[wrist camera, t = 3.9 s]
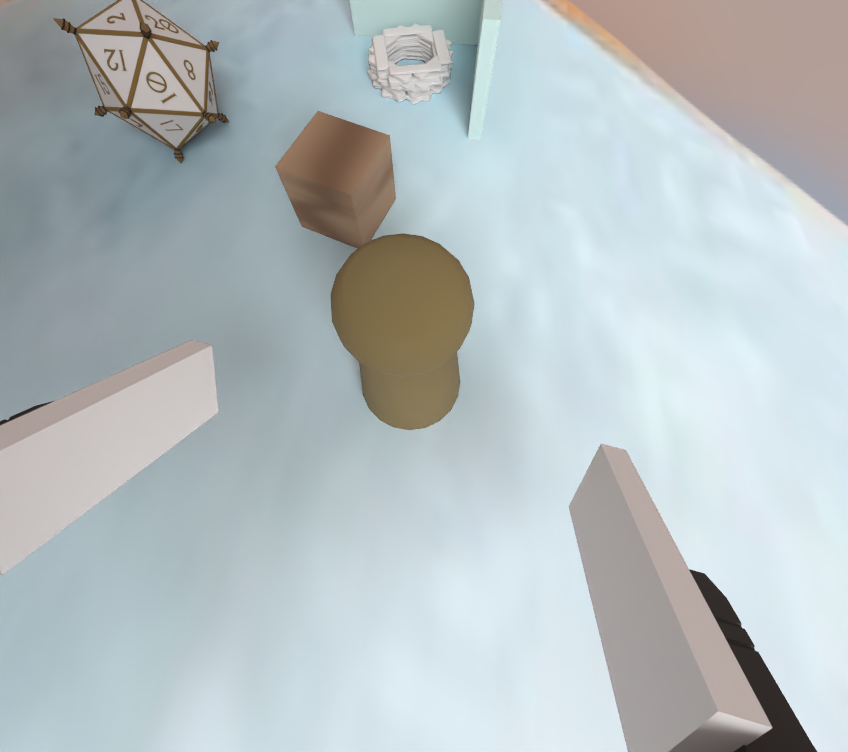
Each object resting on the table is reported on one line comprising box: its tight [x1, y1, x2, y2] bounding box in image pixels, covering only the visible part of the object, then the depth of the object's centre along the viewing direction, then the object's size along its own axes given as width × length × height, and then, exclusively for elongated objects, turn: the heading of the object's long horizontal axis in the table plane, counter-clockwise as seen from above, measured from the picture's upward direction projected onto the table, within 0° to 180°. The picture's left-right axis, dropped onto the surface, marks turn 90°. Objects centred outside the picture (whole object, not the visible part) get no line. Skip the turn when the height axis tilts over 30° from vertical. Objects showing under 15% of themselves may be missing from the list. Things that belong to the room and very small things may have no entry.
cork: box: [331, 234, 474, 430], centre depth 17 cm, size 6×6×11 cm
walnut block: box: [275, 111, 396, 249], centre depth 24 cm, size 5×5×5 cm
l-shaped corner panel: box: [350, 0, 502, 139], centre depth 27 cm, size 12×12×8 cm
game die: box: [53, 0, 229, 163], centre depth 25 cm, size 9×8×10 cm
